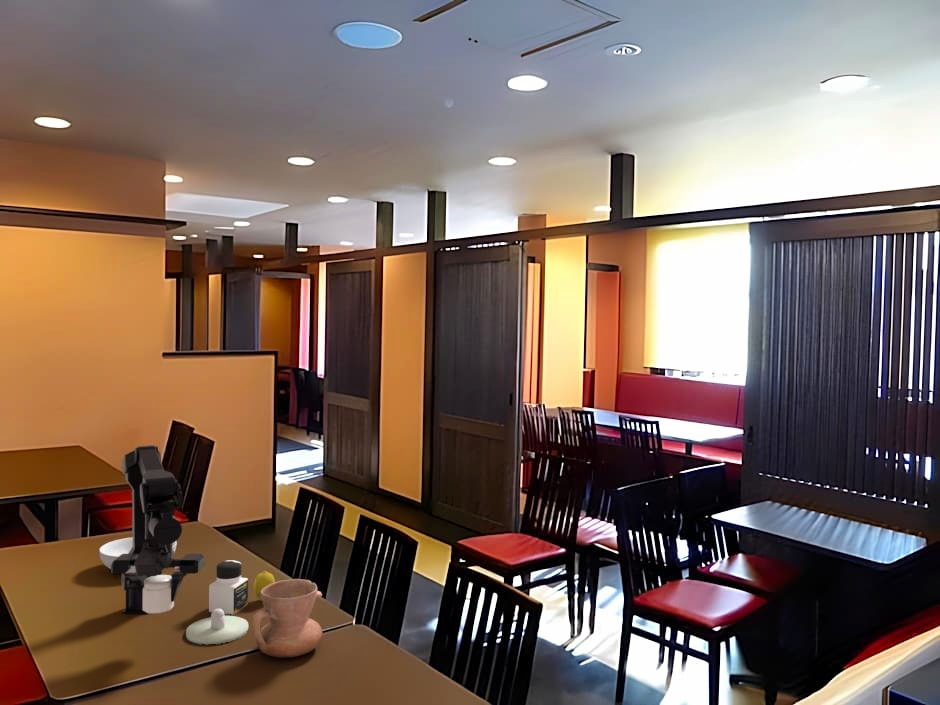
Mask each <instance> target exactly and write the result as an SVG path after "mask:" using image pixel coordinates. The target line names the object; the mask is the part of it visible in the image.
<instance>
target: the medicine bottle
mask: <svg viewBox="0 0 940 705" xmlns="http://www.w3.org/2000/svg"><path fill="white" fill-rule="evenodd" d="M248 604H249V579H248V578H247V577H242V563H241V562H240V561H237V560H234V559H233V560H232V559H231V560H224V561H221V562H219V563H218V564H217V565H216V580H215V581H213V582H211V583H210V584H209V586H208V612H209V613H212V612H213V611H214V610H215V609H222V610H223V611H224V614H225V615H230V614H231V615H230V616H235V614H237V613H239V612H240V611H241V610H243V609H244V608H245V607H246V606H248Z"/></svg>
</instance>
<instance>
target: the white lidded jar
mask: <svg viewBox="0 0 940 705" xmlns="http://www.w3.org/2000/svg"><path fill="white" fill-rule="evenodd" d="M171 591H172V576H171V575H169V574H161V575H157V576H151V577H148V578H146V579H145V580H144V587H143V611H145V612H147V613H146V614H161V613H165V612H169V611H171V610H172V609H173V607H175V600H174V601H173V602H172V601H171Z"/></svg>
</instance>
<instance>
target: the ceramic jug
mask: <svg viewBox="0 0 940 705" xmlns="http://www.w3.org/2000/svg"><path fill="white" fill-rule="evenodd" d="M292 593H300V594H301V595H300V596H296V597H293V596H292ZM322 596H323V594H322V591H319V590H318V586H317V584H316V583H315V582H312V581H311V580H309V579H301V578H292V579H283V580H279V581H275V583H272V584H270V585H268V586H266V587H264V588H263V589H262V590H261V597H262V599H261V601H262V604H263V608H264V609H262V610H259V611H257V612H256V613H255V614H254V615H253V617H252V623H251V625H252V632H253V635H254V636H255V638H256V639H255V642H256V646H257V648H258V650H260V651H261V652H262V653H263V654H265V655H267V656H271V657H275V658H280V659H281V658H282V659H283V658H284V659H285V658H286V659H287V658H288V659H289V658H294V657H295V658H296V657H299V656H302V655H305V654H307V653H310V652H311V651H313V650H314V649H315V648H316V647H317V646H318V645H319V644H320V642H321V641H322V638H323V628H322V627H321V625H320V624H319V622H317V621H316V620H314V619H313V618H310V614H311V613H312V610H313V607H314V605H315V602H316V598H321V597H322ZM263 618H268V619H269V620H270V621H269V622H268V623H267V624H265V625H264V626H263V627H261V623H262V619H263Z"/></svg>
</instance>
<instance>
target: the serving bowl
mask: <svg viewBox="0 0 940 705" xmlns="http://www.w3.org/2000/svg"><path fill="white" fill-rule="evenodd" d="M177 544H178V542H177V540H176V541H175V542H174V543H173V551H174V554H175V552H176V549H177ZM132 546H133V538H132V536H131V537H126V538H120V539H115V540H112V541H109V542H107V543H105V544H103V545H102V546H101V547H99V558H100V560H101V562H102V563H103V565H104V566H105V567H107V568H108V569H109V570H111V565H112V562H113V561H114V560H115V559H116V558H118V557H119V556H120V555H122V554H128V553H129V552H130V550H131V548H132Z"/></svg>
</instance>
